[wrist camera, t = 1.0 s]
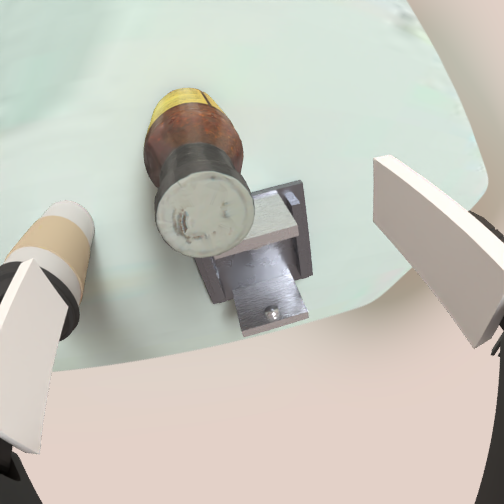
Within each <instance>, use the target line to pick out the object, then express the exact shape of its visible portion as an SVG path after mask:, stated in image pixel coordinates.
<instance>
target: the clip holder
mask: <svg viewBox="0 0 504 504" xmlns="http://www.w3.org/2000/svg"><path fill="white" fill-rule="evenodd" d="M251 195H252V197H253V199H254V205H255V216H254V222H253V225H252V227H251V229H250V231H249V233H248V235H247V236H246V237H245V238H244V239H243V241H242V242H241V243H240V244H238V245H237V246H235V247H234V248H232V249H231V250H229V251H227V252H224V253H222V254H220V255H217V256H212V257H205V258H195V261H196V263H197V266H198V268H199V271H200V273H201V276H202V278H203V280H204V283H205V285H206V288H207V290H208V292H209V295H210V297H211V299H212V302H213V304H215V303H221V302H225V301H226V300H230V299H233V298H234V301H235V305H236V309H237V314H238V318H239V322H240V327H241V331H242V334H243V336H244V337H246V336H250V335H253V334H257V333H260V332H264V331H267V330H271V329H274V328H277V327H281V326H284V325H287V324H290V323H294V322H297V321H300V320H303V319H306V318H309V317H308V310H307V308H306V306H305V304H304V301H303V299H302V297H301V295H300V293H299V290H298V288H297V286H296V284H295V282H294V281H295V280H298V279H304V278H307V277H309V276H311V275H313V272H312V261H311V251H310V241H309V232H308V223H307V214H306V206H305V198H304V190H303V183H302V182H301V180H298V181H294V182H290V183H286V184H282V185H278V186H275V187H271V188H267V189H263V190H260V191H256V192H252V193H251Z"/></svg>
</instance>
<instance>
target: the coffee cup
mask: <svg viewBox="0 0 504 504" xmlns="http://www.w3.org/2000/svg"><path fill="white" fill-rule="evenodd" d="M93 236H94V222H93V219H92V217H91V215H90V214H89V212H88V211H87V210H86V209H85V208H84V207H83V206H81V205H80V204H78V203H76V202H73V201H68V200H63V201H58V202H56V203H54V204H52V205H51V206H50V207H49V208H48V209H47V210H46V211H45V212H44V214H43V215H42V216H41V217H40V218H39V219H38V220H37V221H36V222H35V223H34V224H33V225H32V226H31V227H30V228H29V229H28V231H27V232H26V233H25V234H24V235H23V237H22V238H21V239H20V240H19V241H18V243H17V244H16V245H15V246H14V248H13V249H12V250H11V251H10V253H9V254H8V255H7V257H6V259H5V261H4V263H3V265H1V266H0V304H1V302H2V300H3V298H4V296H5V293H6V291H7V289H8V287H9V285H10V283H11V281H12V279H13V277H14V276H15V274H16V272H17V270H18V268H19V266H20V264H21V263H22V262H25V261H27V260H30V259H32V258H34V259H35V261H36V262H37V264H38V265H39V267H40V268H41V270H42V271H43V273H44V274H45V275H46V277H47V278H48V280H49V281H50V283H51V284H52V285H53V287H54V288H55V290H56V291H57V292H58V294H59V295H60V296H61V298H62V299H63V300H64V302H65V303H66V304H67V306H68V310H67V314H66V317H65V321H64V324H63V328H62V332H61V335H60V339H59V341H62V340H64V339H65V338H67V337H68V336H69V335H70V334H71V332H72V331H73V330H74V329H75V328H76V326H77V324H78V322H79V317H80V312H79V305H80V303H81V301H82V296H83V290H84V284H85V279H86V273H87V268H88V263H89V258H90V248H91V244H92V240H93Z"/></svg>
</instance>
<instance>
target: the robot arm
mask: <svg viewBox="0 0 504 504" xmlns="http://www.w3.org/2000/svg"><path fill="white" fill-rule="evenodd" d="M373 168H374V197H373V222H374V223H375V224H376V225H377V226H378V228H379V229H380V230H381V231H382V232H383V233H384V234H385V235H386V236H387V238H388V239H389V240H390V241H391V242H392V243H393V244H394V246H395V247H396V248H397V249H398V250H399V251H400V253H401V254H402V255H403V256H404V257H405V258H406V260H407V261H408V262H409V263H410V264H411V266H412V267H413V268H414V269H415V271H416V272H417V273H418V274H419V275H420V277H421V278H422V279H423V280H424V281H425V283H426V284H427V285H428V287H429V288H430V289H431V291H432V292H433V293H434V294H435V296H436V297H437V298H438V300H439V301H440V302H441V304H442V305H443V306H444V308H445V309H446V310H447V312H448V313H449V314H450V316H451V317H452V318H453V320H454V321H455V322H456V324H457V325H458V327H459V328H460V330H461V331H462V332H463V334H464V335H465V337H466V338H467V340H468V341H469V342H470V344H471V345H472V347H473V348H474V349H475V348H477V347H478V346H480V345H481V344H483V343H484V342H486V341H488V340H489V339H491V338H492V336H493V335H494V333H495V331H496V329H497V328H498V326H499V325H500V326H501V328H502V329H503V330H504V237H503V234H501V233H500V232H499V231H498V230H495V227H494V226H493V225H491V224H490V223H489V222H488V221H487V220H486V219H484V218H483V217H481V216H479V215H477V214H475V213H473V212H471V211H467V210H465V209H464V208H463V207H462V206H461V205H459V204H458V203H457V202H456V201H454V200H453V199H452V198H450V197H449V196H448V195H447V194H445V193H444V192H443V191H441V190H440V189H439V188H437V187H436V186H435V185H433V184H432V183H431V182H429V181H428V180H427V179H425V178H424V177H423V176H421V175H420V174H418V173H417V172H415V171H414V170H413V169H411V168H410V167H408V166H407V165H405V164H404V163H402V162H401V161H399V160H398V159H396V158H395V157H393V156H392V155H386V156H381V157H376V158H373ZM67 310H68V306H67V304H66V303H65V302H64V300H63V299H62V298H61V296H60V295H59V294H58V292H57V291H56V290H55V288H54V287H53V285H52V284H51V283H50V281H49V280H48V278H47V277H46V275H45V274H44V273H43V271H42V270H41V268H40V267H39V265H38V264H37V262H36V261H35V259H34V258H32V259H30V260H27V261H25V262H22V263H21V264H20V266H19V268H18V270H17V272H16V274H15V276H14V277H13V279H12V281H11V283H10V285H9V287H8V289H7V291H6V293H5V296H4V298H3V300H2V302H1V304H0V504H42V502H41V500H40V498H39V496H38V494H37V493H36V491H35V489H34V487H33V485H32V483H31V481H30V479H29V477H28V475H27V473H26V471H25V469H24V467H23V465H22V462H21V460H20V458H19V457H18V455H17V454H16V453H14V452H12V446H14V447H16V448H18V449H20V450H21V451H23V452H25V453H33V454H40V447H41V437H42V428H43V421H44V414H45V407H46V401H47V395H48V389H49V384H50V379H51V374H52V369H53V365H54V360H55V356H56V351H57V347H58V343H59V339H60V335H61V332H62V328H63V324H64V321H65V317H66V314H67ZM499 347H500V353H499V355H498V356H499V357H500V372H499V386H498V397H497V405H496V413H495V420H494V427H493V432H492V438H491V443H490V448H489V453H488V458H487V462H486V466H485V470H484V474H483V478H482V482H481V485H480V488H479V492H478V495H477V498H476V501H475V504H504V332H503V333H502V335H501V337H500V338H499V340H498V341H497V343H496V344H495V346H494V347H493V349H492V353H491V355H495V353H496V352H497V350H498V349H499Z"/></svg>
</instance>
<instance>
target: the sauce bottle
mask: <svg viewBox="0 0 504 504" xmlns="http://www.w3.org/2000/svg"><path fill="white" fill-rule="evenodd" d="M243 157H244V156H243V147H242V141H241V140H240V138H239V135H238V133H237V132H236V130H235V129H234V127H233V124H232V123H231V121H230V120H229V118H228V117H227V116H226V115H225V113H224V112H223V111H222V110H221V109H220V107H219V106H218V105H217V104H216V103H215V102H214V100H213V99H212V98H211V97H210V96H209V95H208V94H206V93H205V92H202V91H200V90H198V89H194V88H182V89H177V90H174V91H172V92H170V93H168V94H167V95H166V96H165V97H163V98H162V99H161V100H160V101H159V103H158V104H157V106H156V108H155V109H154V112H153V115H152V118H151V122H150V125H149V128H148V131H147V135H146V138H145V143H144V163H145V167H146V170H147V173H148V175H149V177H150V179H151V181H152V182H153V183H154V185H155V186H156V187H157V188H158V192H157V195H156V197H155V222H156V225H157V228H158V231H159V233H160V234H161V236H162V238H163V239H164V241H165V242H166V243H167V244H168V245H169V246H170V247H171V248H173V249H174V250H175V251H178V252H180V253H181V254H183V255H185V256H189V257H194V258H205V257H212V256H217V255H220V254H222V253H224V252H227V251H229V250H231V249H232V248H234V247H235V246H237V245H238V244H240V243H241V242H242V241H243V239H244V238H245V237H246V236H247V235H248V233H249V231H250V229H251V227H252V225H253V222H254V216H255V205H254V199H253V197H252V195H251V192H250V189H249V188H248V186H247V184H246V181H245V180H244V178H243V177H242V175H241V168H242V163H243Z"/></svg>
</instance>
